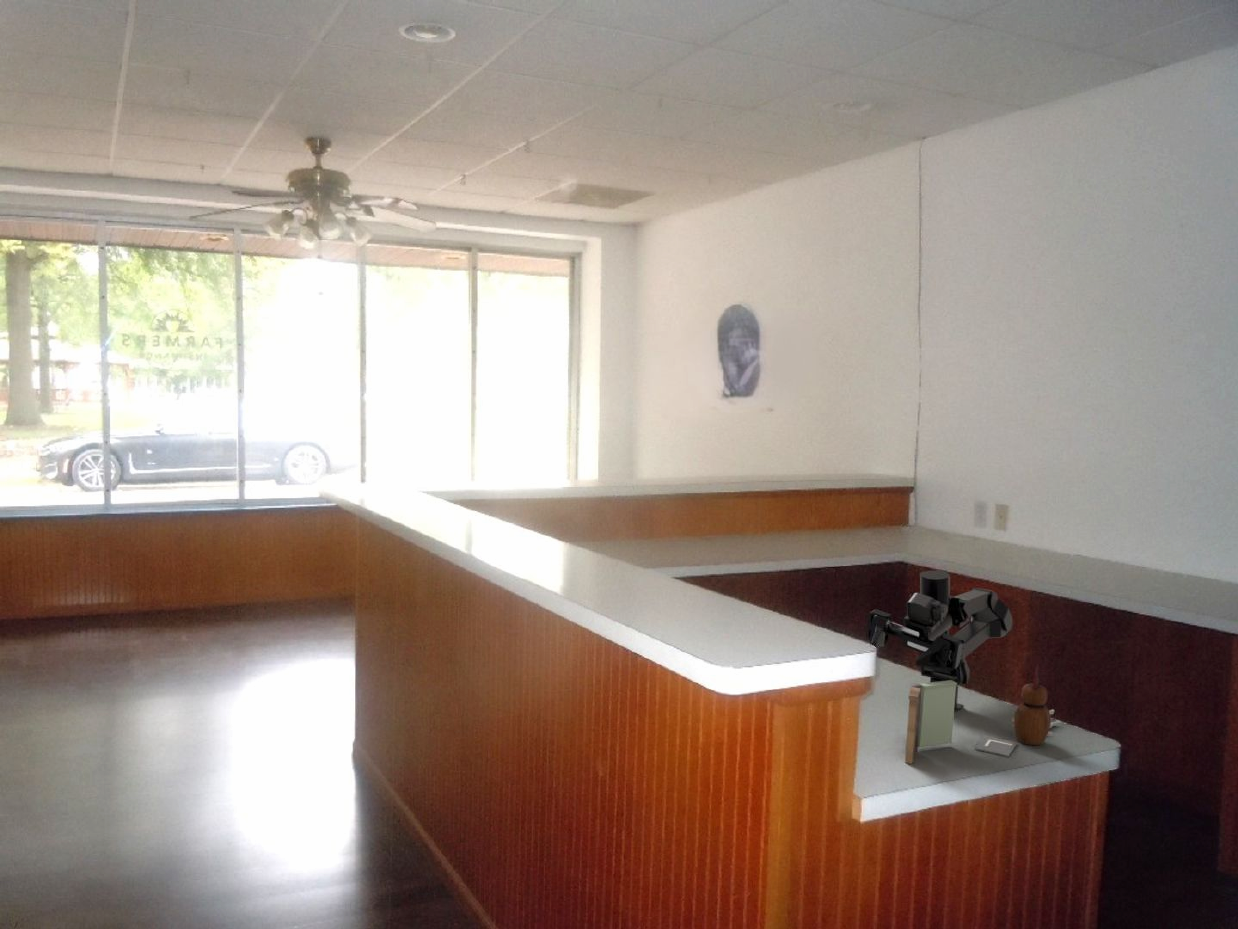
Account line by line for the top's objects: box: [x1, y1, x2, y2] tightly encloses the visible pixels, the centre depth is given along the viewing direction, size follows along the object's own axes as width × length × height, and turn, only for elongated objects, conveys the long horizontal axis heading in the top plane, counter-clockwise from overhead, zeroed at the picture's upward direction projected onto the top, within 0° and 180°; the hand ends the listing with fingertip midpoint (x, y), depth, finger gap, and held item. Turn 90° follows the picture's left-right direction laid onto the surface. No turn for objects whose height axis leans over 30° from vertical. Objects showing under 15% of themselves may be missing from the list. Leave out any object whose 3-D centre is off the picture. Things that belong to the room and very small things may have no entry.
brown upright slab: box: [904, 682, 922, 765], centre depth 182 cm, size 8×2×12 cm, turn 159°
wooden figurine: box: [1013, 663, 1052, 746], centre depth 192 cm, size 7×6×15 cm
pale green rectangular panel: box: [918, 680, 957, 749], centre depth 187 cm, size 8×2×12 cm, turn 114°
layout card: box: [974, 735, 1018, 758], centre depth 189 cm, size 8×6×1 cm
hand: (893, 654), depth 190 cm, fingers open, 9 cm apart
